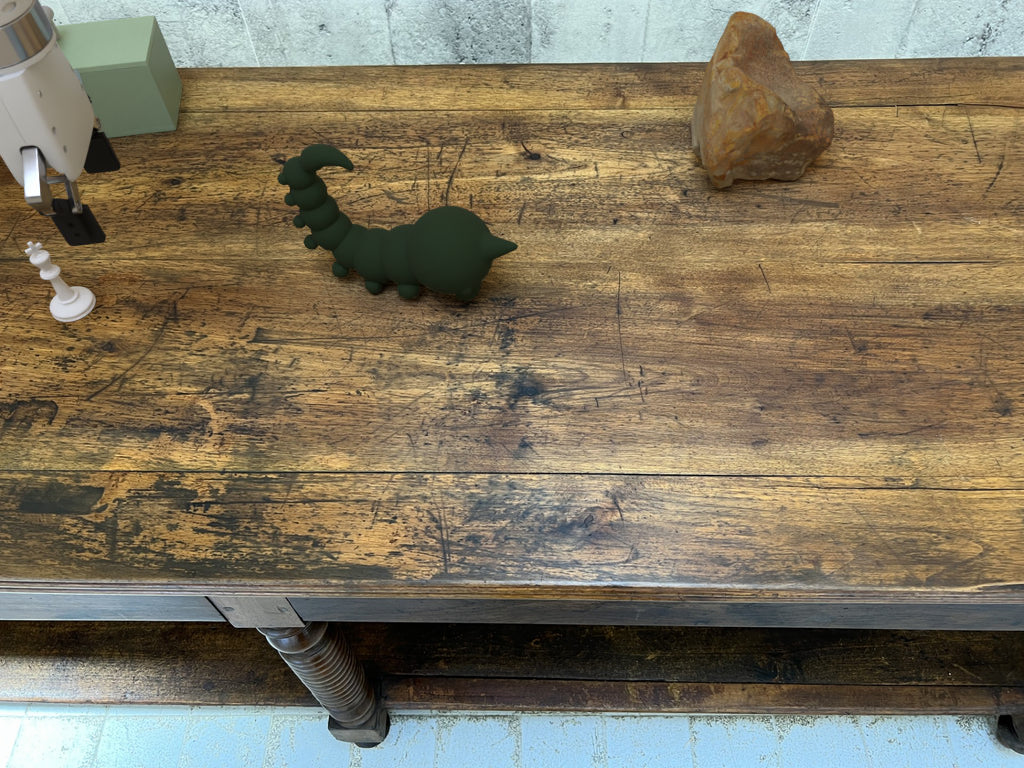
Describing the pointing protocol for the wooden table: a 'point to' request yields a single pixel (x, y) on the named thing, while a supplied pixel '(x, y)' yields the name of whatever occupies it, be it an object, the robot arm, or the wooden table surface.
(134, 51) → the bin lid
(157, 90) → the bin
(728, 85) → the rough brown rock
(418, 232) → the toy figurine
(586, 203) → the wooden table surface
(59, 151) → the robot arm
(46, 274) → the chess piece
